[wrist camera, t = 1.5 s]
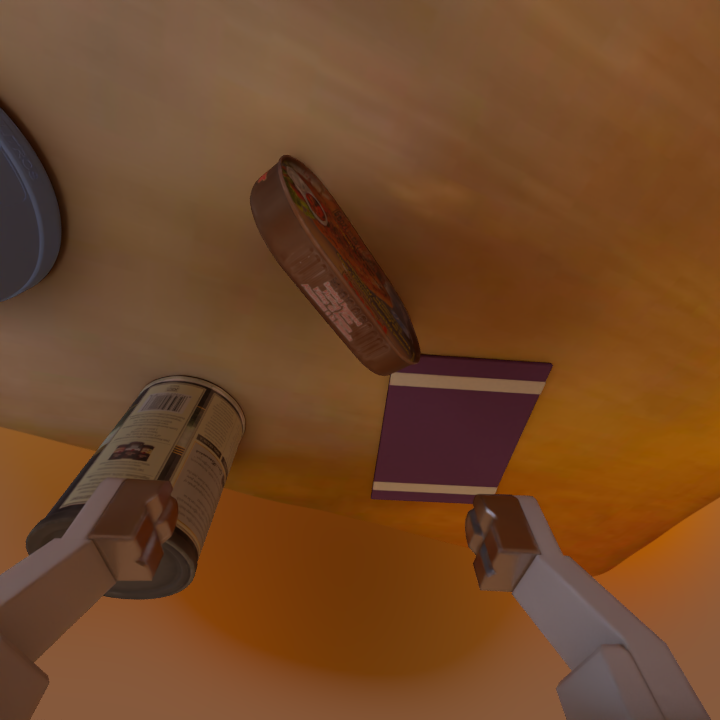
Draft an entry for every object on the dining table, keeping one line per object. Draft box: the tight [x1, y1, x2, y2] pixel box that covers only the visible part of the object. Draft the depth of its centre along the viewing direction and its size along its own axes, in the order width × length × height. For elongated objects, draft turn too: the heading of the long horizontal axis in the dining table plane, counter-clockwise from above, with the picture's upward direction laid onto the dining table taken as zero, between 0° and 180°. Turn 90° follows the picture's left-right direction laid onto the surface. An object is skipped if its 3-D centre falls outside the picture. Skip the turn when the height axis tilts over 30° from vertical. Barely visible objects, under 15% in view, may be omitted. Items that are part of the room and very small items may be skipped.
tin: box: [250, 155, 420, 376], centre depth 23 cm, size 15×3×8 cm, turn 34°
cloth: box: [371, 354, 553, 504], centre depth 37 cm, size 14×20×1 cm
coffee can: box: [26, 376, 245, 599], centre depth 30 cm, size 10×10×14 cm
